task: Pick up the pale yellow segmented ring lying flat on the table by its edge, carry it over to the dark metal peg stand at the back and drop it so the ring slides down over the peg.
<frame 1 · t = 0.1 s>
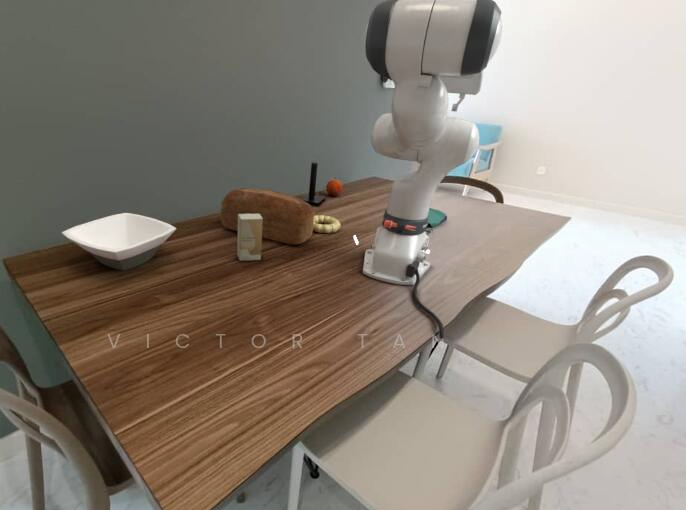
hand: (437, 109, 114), 39 cm above the table, tool pointing down, fingers open, 8 cm apart
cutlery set: (415, 222, 146), on the table
cosmetic box: (249, 258, 111), on the table
bowl: (126, 260, 106), on the table
bread: (266, 234, 128), on the table
peg stand: (311, 202, 160), on the table
pale yellow segmented ring: (322, 224, 135), point 1 cm above the table
fruit: (333, 196, 170), on the table
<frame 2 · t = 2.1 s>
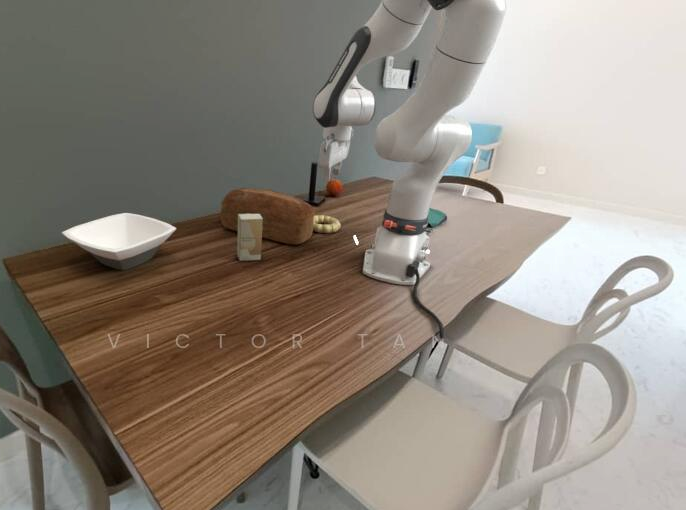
hand: (331, 177, 131), 16 cm above the table, tool pointing down, fingers open, 8 cm apart
nothing on the table moved.
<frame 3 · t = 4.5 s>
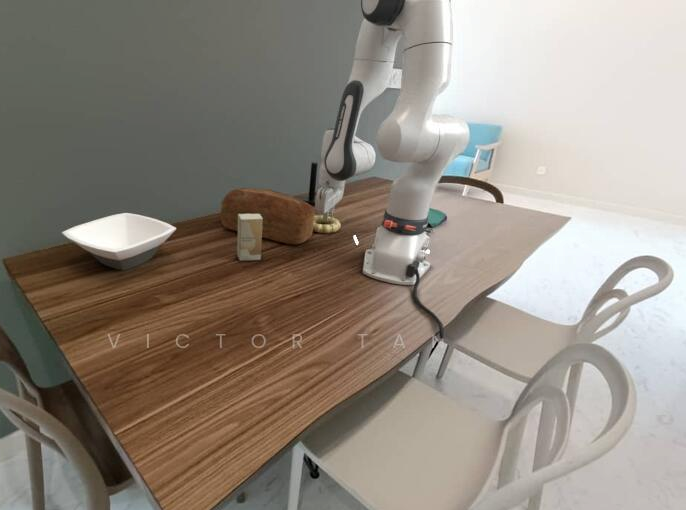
hand: (327, 219, 138), 2 cm above the table, tool pointing down, fingers closed on pale yellow segmented ring, 3 cm apart
pale yellow segmented ring: (322, 224, 134), point 1 cm above the table, touching gripper
everything else where it was.
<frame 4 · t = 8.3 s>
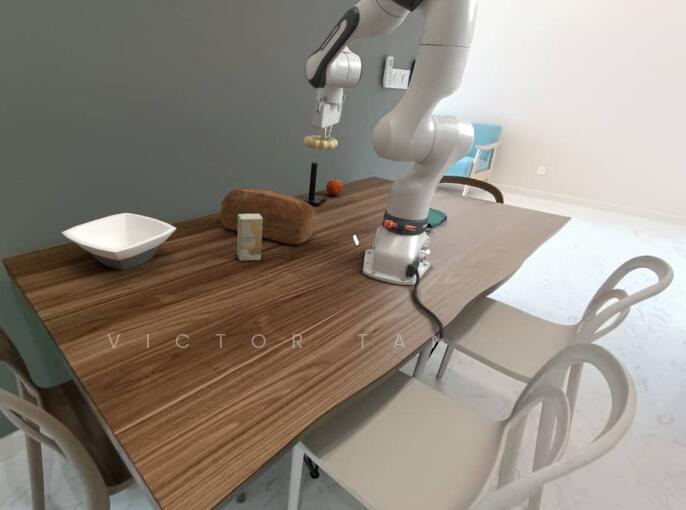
hand: (324, 139, 142), 25 cm above the table, tool pointing down, fingers closed on pale yellow segmented ring, 3 cm apart
pale yellow segmented ring: (320, 142, 139), point 25 cm above the table, touching gripper
everything else where it was.
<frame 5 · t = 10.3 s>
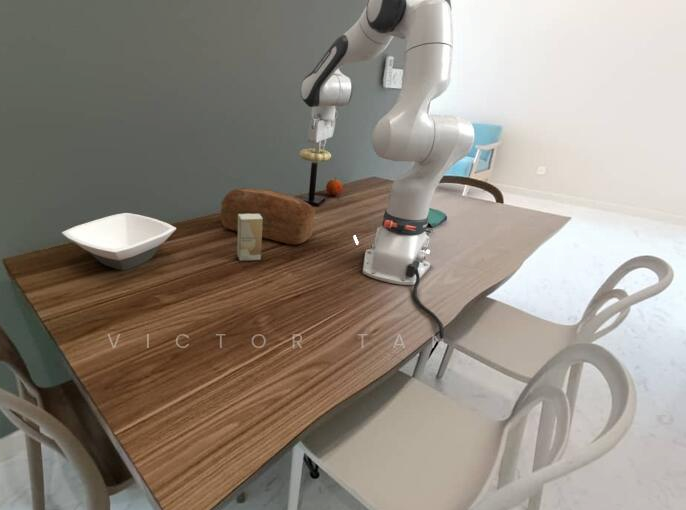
hand: (319, 152, 154), 19 cm above the table, tool pointing down, fingers closed on pale yellow segmented ring, 3 cm apart
pale yellow segmented ring: (315, 154, 151), point 18 cm above the table, touching gripper
everything else where it was.
when the fingers open (13 cm above the table, at t = 12.2 s): pale yellow segmented ring drops 10 cm, resting on peg stand.
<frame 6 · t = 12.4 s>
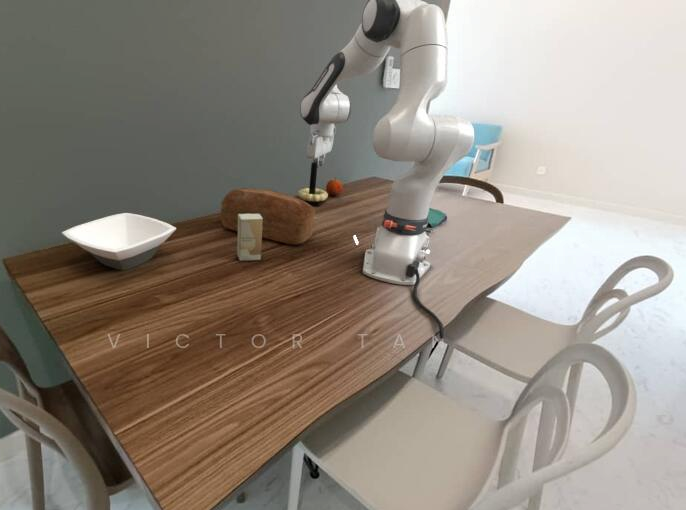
hand: (318, 166, 157), 13 cm above the table, tool pointing down, fingers open, 4 cm apart
pale yellow segmented ring: (312, 194, 159), point 3 cm above the table, touching peg stand
everything else where it was.
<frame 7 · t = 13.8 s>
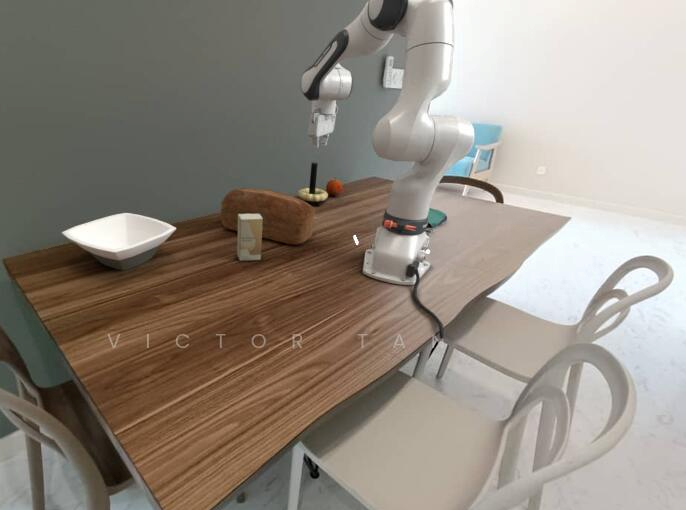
hand: (319, 147, 153), 21 cm above the table, tool pointing down, fingers open, 8 cm apart
nothing on the table moved.
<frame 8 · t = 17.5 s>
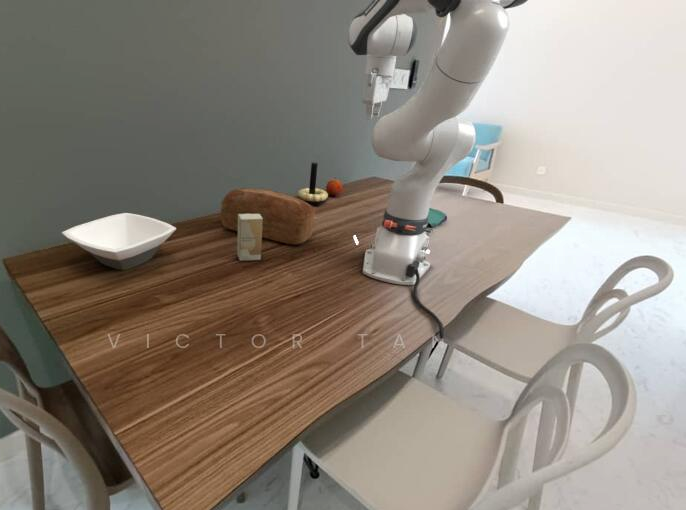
hand: (372, 118, 128), 34 cm above the table, tool pointing down, fingers open, 8 cm apart
nothing on the table moved.
at the end: pale yellow segmented ring 0.7 cm off-centre on the peg stand, point 2.9 cm above the peg stand's base; the gripper is holding nothing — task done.
